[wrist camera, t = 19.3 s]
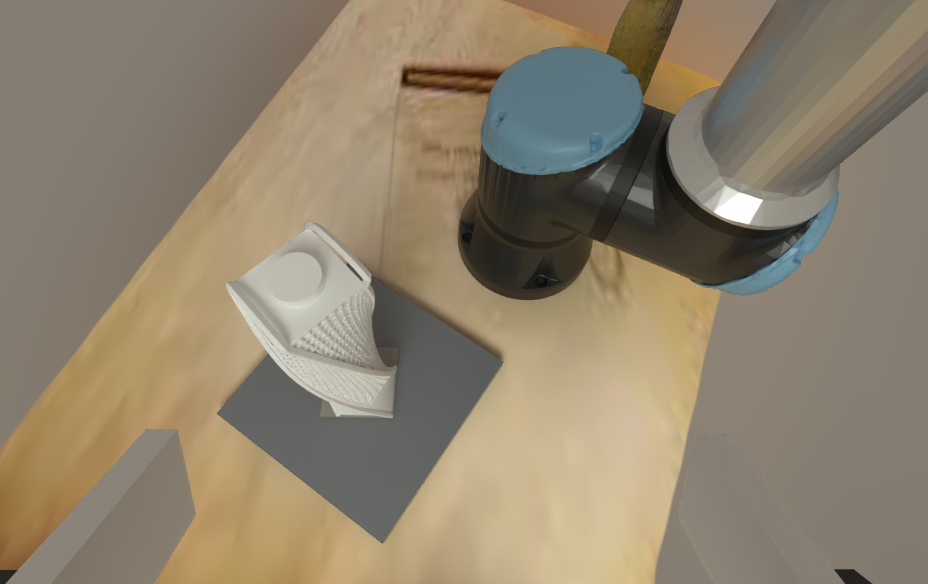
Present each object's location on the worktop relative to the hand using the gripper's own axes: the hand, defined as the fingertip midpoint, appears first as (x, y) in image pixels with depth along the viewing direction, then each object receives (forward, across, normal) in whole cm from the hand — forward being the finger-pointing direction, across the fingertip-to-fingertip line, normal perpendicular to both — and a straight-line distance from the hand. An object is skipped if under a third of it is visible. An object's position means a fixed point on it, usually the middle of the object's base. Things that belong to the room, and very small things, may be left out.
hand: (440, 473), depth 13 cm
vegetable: (+61, +21, +8) cm, 65 cm away
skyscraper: (+33, -8, -18) cm, 39 cm away
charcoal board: (+34, -8, -19) cm, 40 cm away
